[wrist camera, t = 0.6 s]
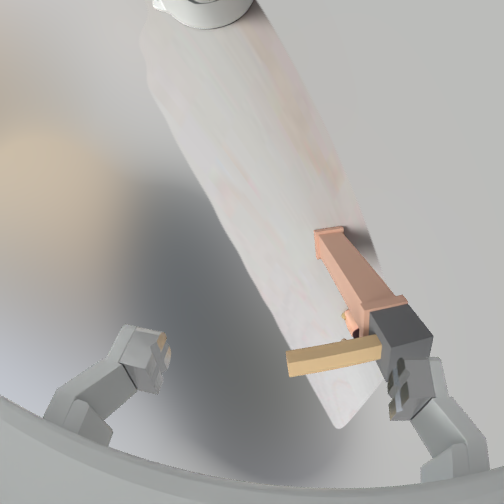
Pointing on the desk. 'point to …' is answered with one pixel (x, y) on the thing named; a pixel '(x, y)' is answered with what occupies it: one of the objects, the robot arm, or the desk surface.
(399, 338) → the mallet
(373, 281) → the stand
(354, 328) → the grandmother figurine
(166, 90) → the desk surface
